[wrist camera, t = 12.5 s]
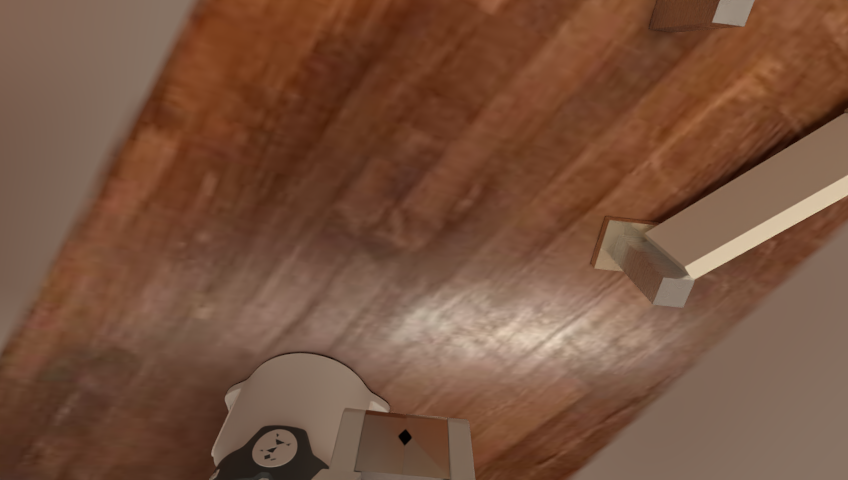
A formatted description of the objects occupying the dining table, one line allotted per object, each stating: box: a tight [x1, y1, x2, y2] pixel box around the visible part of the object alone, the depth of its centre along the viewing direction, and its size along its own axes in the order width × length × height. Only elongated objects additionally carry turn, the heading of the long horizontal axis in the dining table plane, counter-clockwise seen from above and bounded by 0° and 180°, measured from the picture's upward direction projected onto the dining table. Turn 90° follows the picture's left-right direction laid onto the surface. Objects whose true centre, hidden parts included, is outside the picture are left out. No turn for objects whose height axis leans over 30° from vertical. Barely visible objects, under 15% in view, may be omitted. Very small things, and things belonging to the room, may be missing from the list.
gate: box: [645, 108, 848, 280], centre depth 32 cm, size 19×2×6 cm, turn 128°
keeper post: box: [649, 0, 754, 32], centre depth 28 cm, size 3×2×8 cm, turn 173°
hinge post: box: [591, 216, 694, 308], centre depth 36 cm, size 5×5×9 cm
